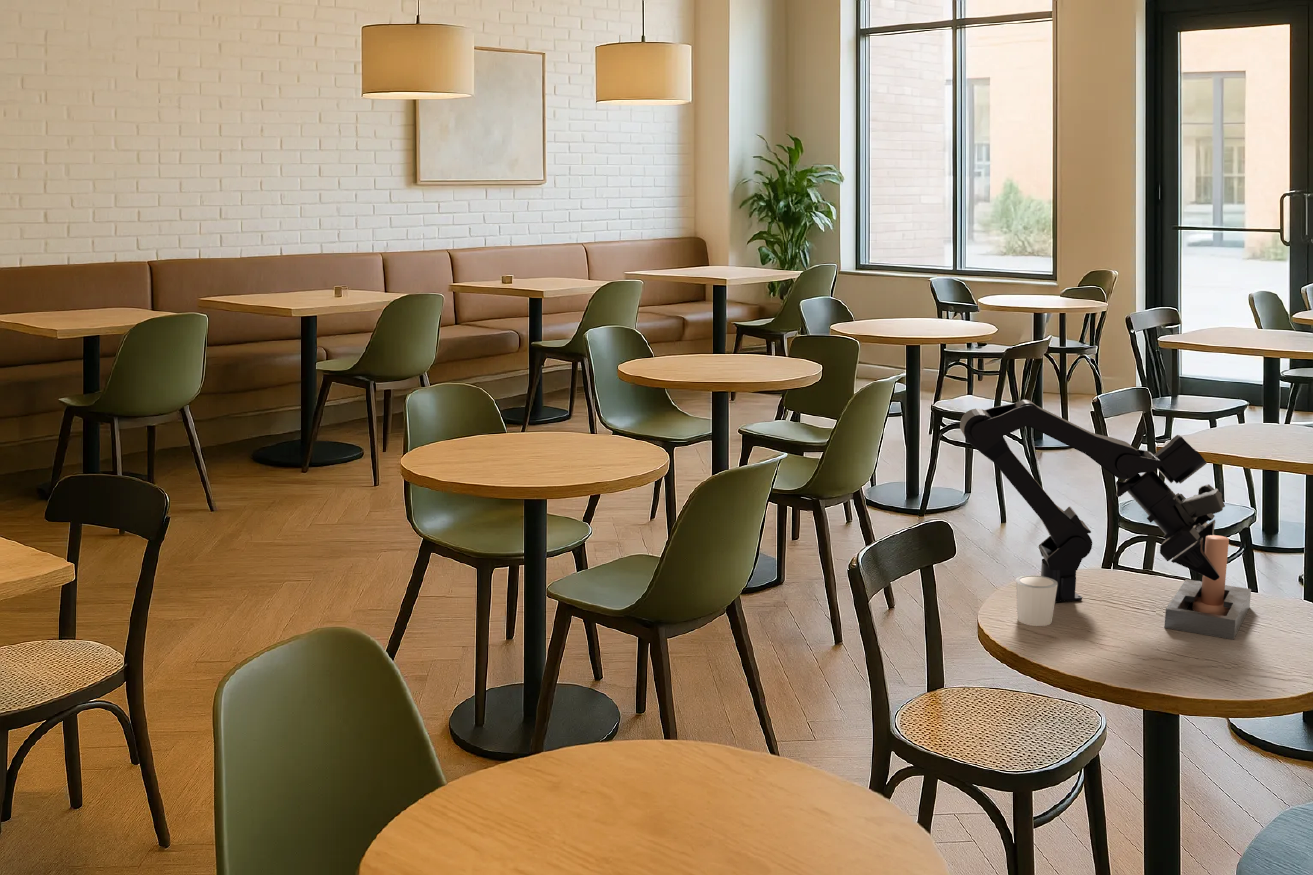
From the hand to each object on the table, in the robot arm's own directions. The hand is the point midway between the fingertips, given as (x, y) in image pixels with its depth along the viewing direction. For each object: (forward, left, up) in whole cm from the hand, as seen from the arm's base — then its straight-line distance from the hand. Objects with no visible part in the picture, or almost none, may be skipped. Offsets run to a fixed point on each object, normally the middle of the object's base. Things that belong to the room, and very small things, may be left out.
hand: (1221, 571), depth 211 cm
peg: (-1, -1, -7) cm, 7 cm away
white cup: (-4, -33, -7) cm, 34 cm away
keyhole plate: (+2, -4, -7) cm, 8 cm away
